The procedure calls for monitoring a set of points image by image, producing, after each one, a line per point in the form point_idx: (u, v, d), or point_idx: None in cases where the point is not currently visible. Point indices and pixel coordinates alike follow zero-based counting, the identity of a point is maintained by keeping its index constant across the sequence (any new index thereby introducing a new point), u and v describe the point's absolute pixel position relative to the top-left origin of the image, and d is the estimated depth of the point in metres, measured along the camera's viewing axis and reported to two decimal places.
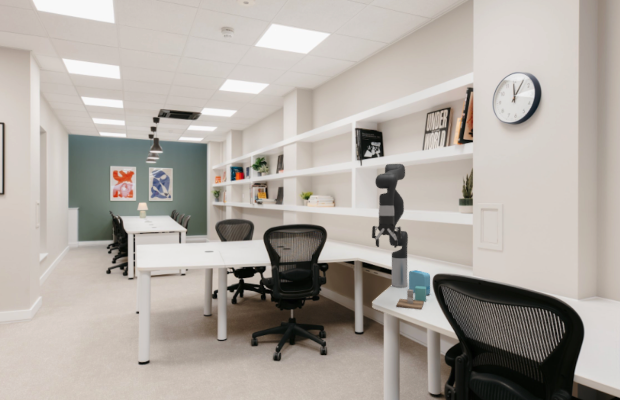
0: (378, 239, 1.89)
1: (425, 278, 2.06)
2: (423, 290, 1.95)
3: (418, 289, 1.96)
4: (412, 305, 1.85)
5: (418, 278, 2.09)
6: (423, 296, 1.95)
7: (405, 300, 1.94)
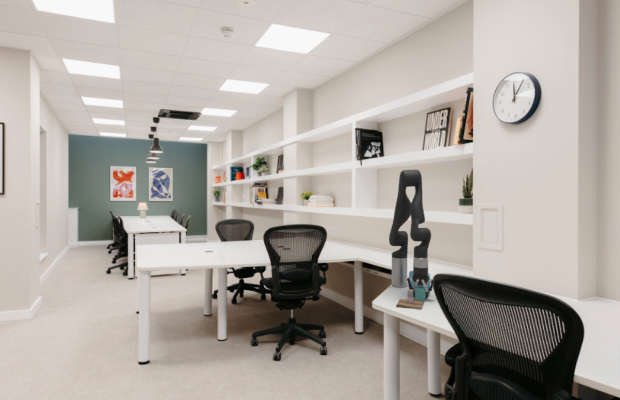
0: None
1: None
2: (423, 290, 1.95)
3: (418, 289, 1.96)
4: (412, 305, 1.85)
5: None
6: (423, 296, 1.95)
7: (405, 300, 1.94)
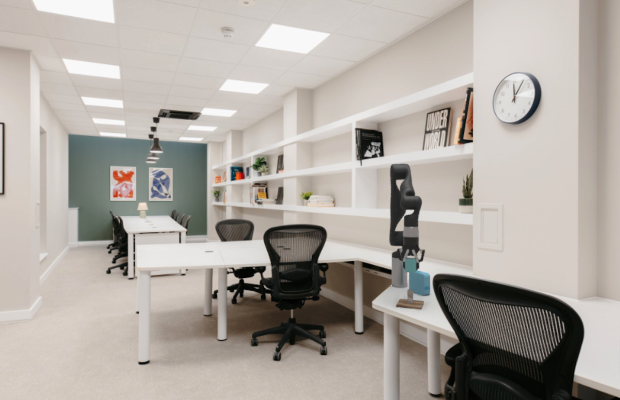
0: None
1: (425, 278, 2.06)
2: (413, 261, 1.86)
3: (408, 260, 1.87)
4: (412, 305, 1.85)
5: (418, 278, 2.09)
6: (413, 267, 1.86)
7: (405, 300, 1.94)
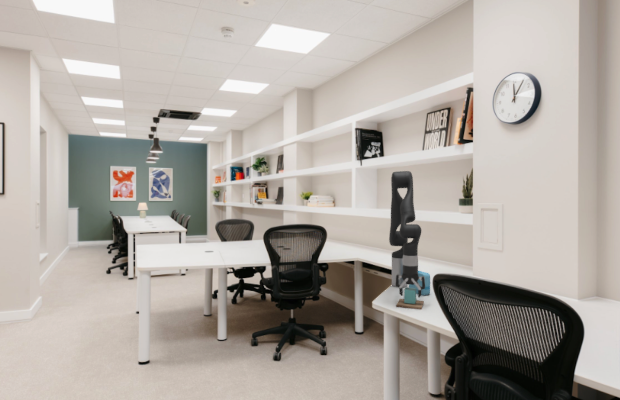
0: (402, 288, 1.91)
1: (425, 278, 2.06)
2: (413, 292, 1.86)
3: (407, 291, 1.87)
4: (412, 305, 1.85)
5: None
6: (413, 298, 1.86)
7: None
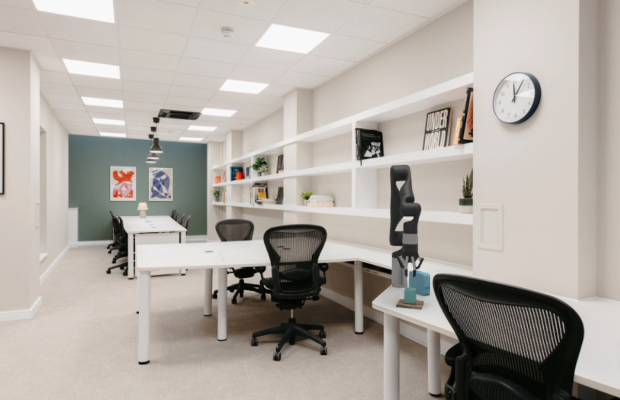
0: (407, 269, 1.90)
1: (425, 278, 2.06)
2: (413, 292, 1.86)
3: (407, 291, 1.87)
4: (412, 305, 1.85)
5: (418, 278, 2.09)
6: (413, 298, 1.86)
7: None
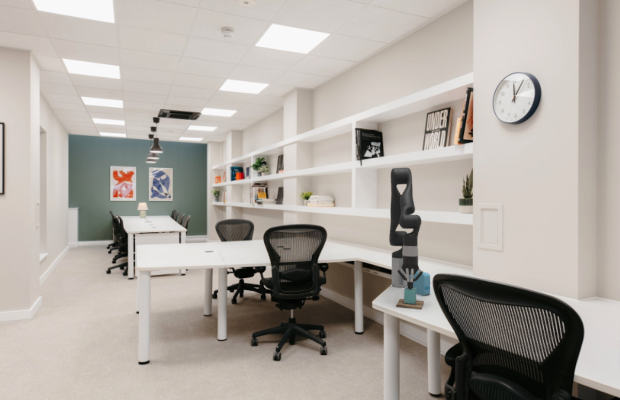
0: (409, 281, 1.89)
1: (425, 278, 2.06)
2: (413, 292, 1.86)
3: (407, 291, 1.87)
4: (412, 305, 1.85)
5: (418, 278, 2.09)
6: (413, 298, 1.86)
7: None
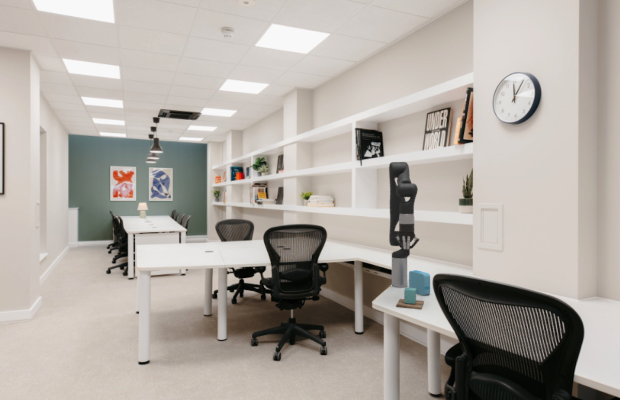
0: (406, 249, 1.93)
1: (425, 278, 2.06)
2: (413, 292, 1.86)
3: (407, 291, 1.87)
4: (412, 305, 1.85)
5: (418, 278, 2.09)
6: (413, 298, 1.86)
7: None
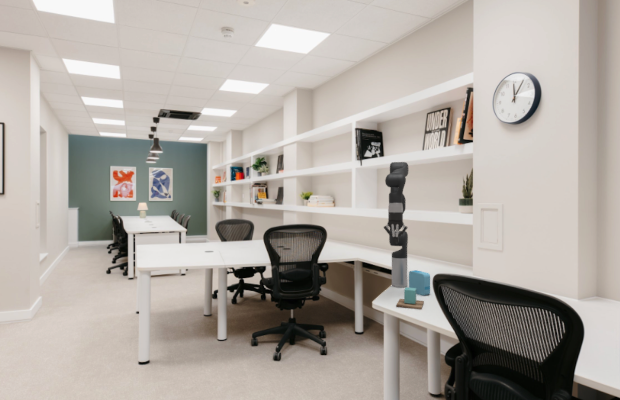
0: (395, 236, 2.03)
1: (425, 278, 2.06)
2: (413, 292, 1.86)
3: (407, 291, 1.87)
4: (412, 305, 1.85)
5: (418, 278, 2.09)
6: (413, 298, 1.86)
7: None
